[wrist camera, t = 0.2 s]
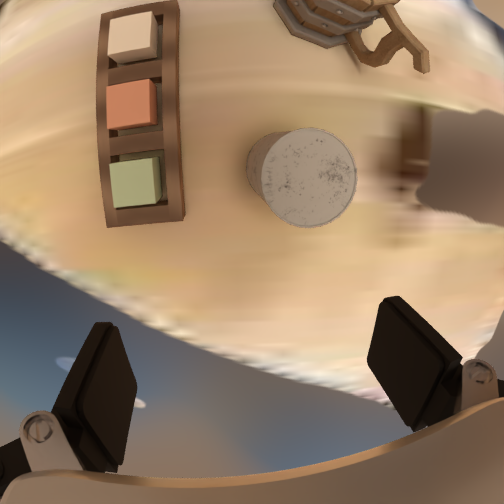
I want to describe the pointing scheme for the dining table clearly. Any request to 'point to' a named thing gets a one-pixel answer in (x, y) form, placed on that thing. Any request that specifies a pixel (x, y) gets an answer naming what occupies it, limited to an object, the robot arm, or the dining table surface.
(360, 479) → the robot arm
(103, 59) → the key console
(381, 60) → the tankard
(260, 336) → the dining table surface
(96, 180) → the dining table surface
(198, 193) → the dining table surface
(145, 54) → the cream key
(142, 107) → the terracotta key
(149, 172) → the sage key
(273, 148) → the grey stone cylinder
